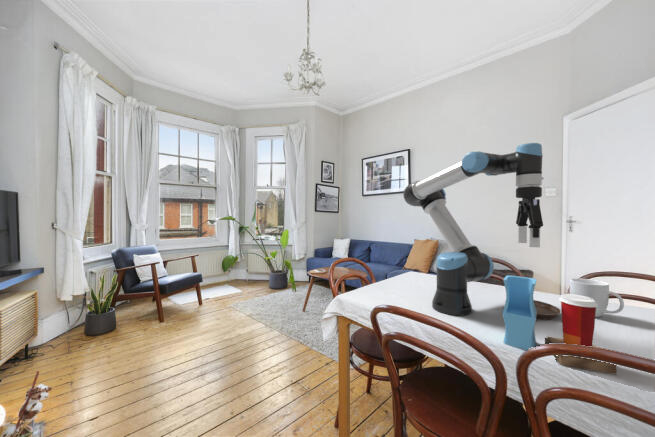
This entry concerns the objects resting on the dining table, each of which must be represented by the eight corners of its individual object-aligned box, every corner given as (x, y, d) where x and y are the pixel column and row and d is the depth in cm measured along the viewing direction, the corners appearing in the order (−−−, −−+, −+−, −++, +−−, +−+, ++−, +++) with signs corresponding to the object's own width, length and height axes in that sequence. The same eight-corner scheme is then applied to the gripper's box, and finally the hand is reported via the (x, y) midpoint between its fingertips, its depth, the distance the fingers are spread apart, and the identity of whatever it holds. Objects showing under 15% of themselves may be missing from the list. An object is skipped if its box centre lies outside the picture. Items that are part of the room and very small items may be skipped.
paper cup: (592, 345, 74) (592, 296, 73) (601, 358, 67) (602, 304, 67) (555, 338, 78) (556, 291, 78) (561, 349, 71) (562, 298, 71)
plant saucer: (572, 323, 96) (572, 315, 96) (519, 320, 99) (519, 312, 99) (542, 306, 113) (542, 299, 113) (497, 304, 117) (497, 297, 117)
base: (560, 364, 69) (561, 353, 69) (544, 345, 80) (544, 335, 80) (616, 374, 65) (616, 362, 65) (591, 352, 76) (591, 342, 75)
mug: (626, 318, 99) (627, 284, 99) (620, 325, 93) (621, 289, 93) (574, 307, 111) (574, 276, 111) (565, 312, 105) (565, 280, 105)
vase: (502, 343, 81) (502, 279, 80) (506, 334, 87) (506, 274, 86) (534, 352, 76) (535, 283, 75) (536, 342, 82) (537, 278, 81)
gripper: (556, 182, 82) (555, 249, 83) (529, 189, 105) (529, 241, 106) (527, 183, 85) (526, 248, 85) (507, 190, 108) (507, 241, 109)
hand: (528, 245), depth 96 cm, fingers open, 13 cm apart
